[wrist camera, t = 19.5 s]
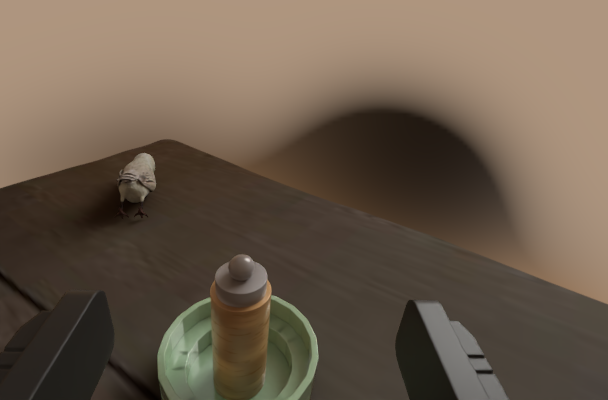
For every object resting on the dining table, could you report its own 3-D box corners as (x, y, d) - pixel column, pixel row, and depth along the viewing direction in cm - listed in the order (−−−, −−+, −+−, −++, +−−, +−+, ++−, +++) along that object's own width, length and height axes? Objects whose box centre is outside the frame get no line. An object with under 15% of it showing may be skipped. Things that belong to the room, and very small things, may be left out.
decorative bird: (163, 177, 70) (160, 140, 66) (149, 222, 56) (144, 179, 53) (133, 177, 69) (128, 139, 65) (111, 223, 55) (103, 179, 51)
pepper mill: (265, 355, 37) (274, 239, 30) (264, 401, 32) (273, 279, 26) (217, 355, 36) (214, 237, 29) (209, 402, 32) (203, 277, 25)
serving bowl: (306, 325, 42) (311, 292, 39) (318, 460, 29) (326, 424, 27) (182, 323, 40) (179, 288, 38) (141, 462, 28) (132, 425, 26)
